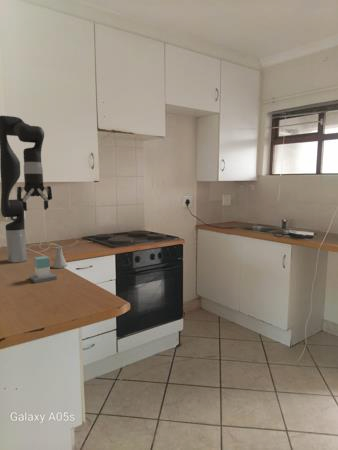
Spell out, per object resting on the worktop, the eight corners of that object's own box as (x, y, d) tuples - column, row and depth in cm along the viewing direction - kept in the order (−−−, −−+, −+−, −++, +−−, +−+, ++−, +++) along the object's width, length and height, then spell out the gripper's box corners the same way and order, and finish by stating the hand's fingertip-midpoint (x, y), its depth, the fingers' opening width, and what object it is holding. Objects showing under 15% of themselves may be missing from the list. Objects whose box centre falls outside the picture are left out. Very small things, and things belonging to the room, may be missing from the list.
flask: (52, 265, 167) (51, 246, 165) (67, 264, 169) (66, 245, 168) (52, 269, 160) (51, 249, 159) (67, 267, 162) (66, 248, 161)
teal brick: (34, 266, 144) (34, 257, 143) (46, 264, 147) (45, 255, 146) (37, 268, 140) (37, 259, 139) (49, 266, 143) (49, 257, 142)
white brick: (35, 275, 144) (34, 266, 144) (46, 273, 147) (46, 264, 147) (38, 277, 140) (38, 268, 140) (50, 275, 143) (49, 266, 143)
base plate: (29, 278, 145) (29, 274, 145) (50, 274, 150) (49, 271, 150) (35, 283, 138) (35, 279, 138) (56, 279, 143) (56, 275, 143)
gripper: (47, 173, 149) (49, 208, 151) (13, 173, 141) (16, 210, 143) (52, 172, 143) (54, 209, 145) (17, 172, 135) (20, 211, 137)
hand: (35, 210), depth 144 cm, fingers open, 8 cm apart
